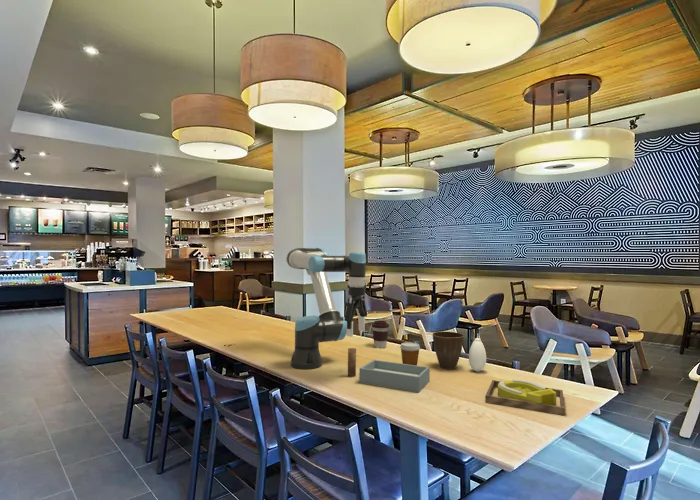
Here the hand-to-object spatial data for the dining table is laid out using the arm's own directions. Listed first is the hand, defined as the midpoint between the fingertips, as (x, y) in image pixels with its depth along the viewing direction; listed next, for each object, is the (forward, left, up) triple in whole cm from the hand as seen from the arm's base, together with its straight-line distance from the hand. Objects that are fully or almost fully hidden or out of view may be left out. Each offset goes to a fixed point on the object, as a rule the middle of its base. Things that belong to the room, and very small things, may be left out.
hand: (355, 333), depth 182 cm
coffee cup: (-11, +57, -19) cm, 62 cm away
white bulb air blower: (+48, +33, -19) cm, 61 cm away
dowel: (-1, -2, -19) cm, 19 cm away
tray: (+19, -1, -19) cm, 27 cm away
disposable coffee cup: (+19, +20, -19) cm, 34 cm away
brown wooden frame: (+70, +3, -19) cm, 73 cm away
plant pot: (+34, +33, -19) cm, 51 cm away
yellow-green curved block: (+70, +4, -19) cm, 73 cm away
